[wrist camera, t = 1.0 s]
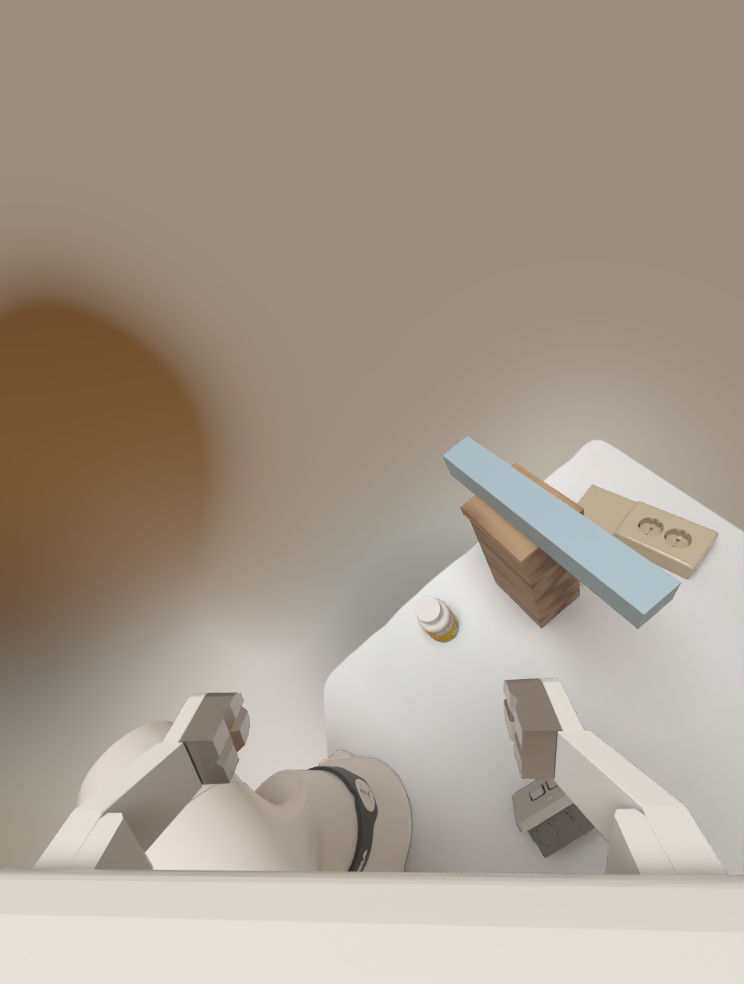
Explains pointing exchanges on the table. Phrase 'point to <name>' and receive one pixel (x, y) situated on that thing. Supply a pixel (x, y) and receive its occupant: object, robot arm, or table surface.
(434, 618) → the supplement bottle
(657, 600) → the batten
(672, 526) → the electrical outlet
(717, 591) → the table surface
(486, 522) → the tall wooden block
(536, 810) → the electrical switch
